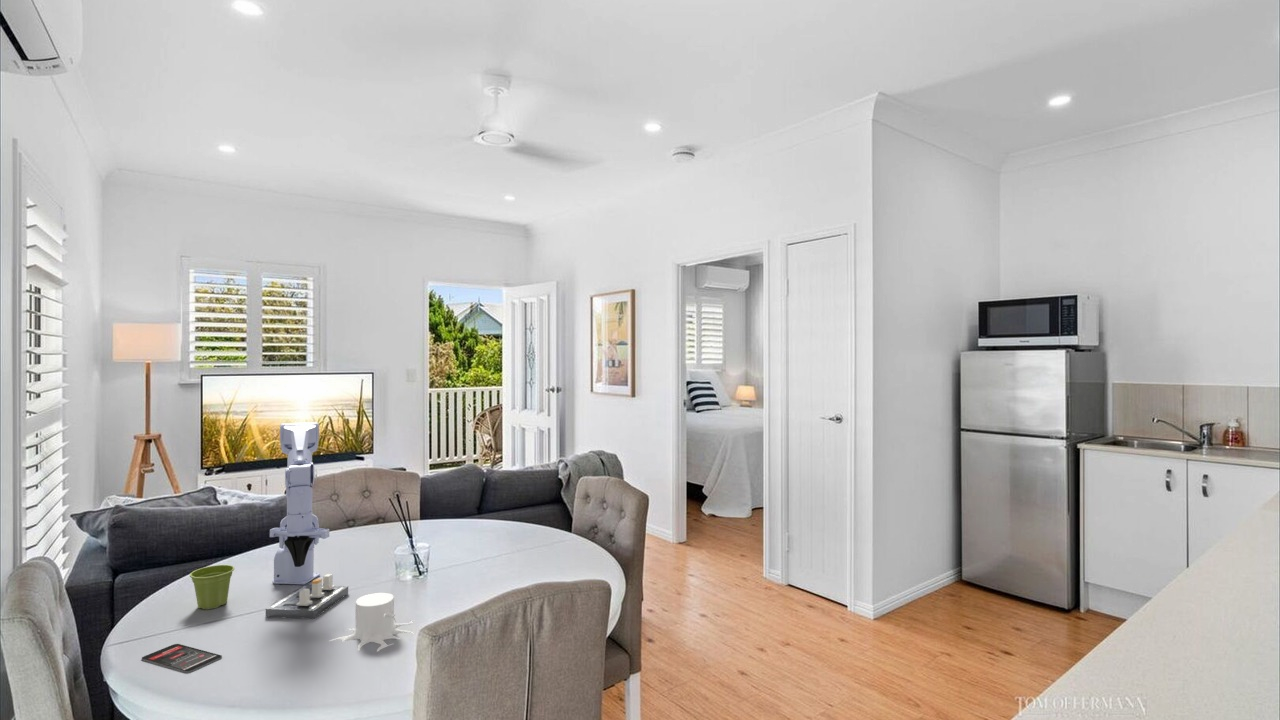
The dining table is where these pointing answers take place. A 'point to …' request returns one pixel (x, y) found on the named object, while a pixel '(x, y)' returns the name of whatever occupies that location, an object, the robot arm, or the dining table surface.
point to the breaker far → (328, 582)
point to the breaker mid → (317, 588)
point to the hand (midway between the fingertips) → (299, 565)
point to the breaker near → (304, 597)
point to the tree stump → (374, 620)
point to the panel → (291, 610)
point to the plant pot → (212, 585)
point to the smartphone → (181, 658)
